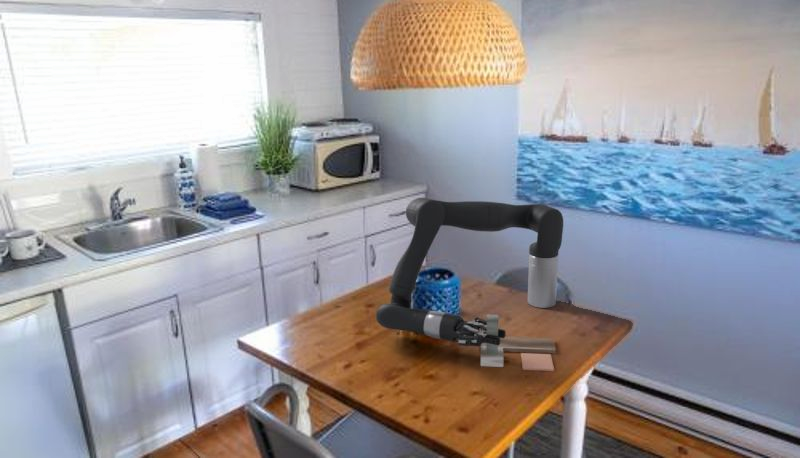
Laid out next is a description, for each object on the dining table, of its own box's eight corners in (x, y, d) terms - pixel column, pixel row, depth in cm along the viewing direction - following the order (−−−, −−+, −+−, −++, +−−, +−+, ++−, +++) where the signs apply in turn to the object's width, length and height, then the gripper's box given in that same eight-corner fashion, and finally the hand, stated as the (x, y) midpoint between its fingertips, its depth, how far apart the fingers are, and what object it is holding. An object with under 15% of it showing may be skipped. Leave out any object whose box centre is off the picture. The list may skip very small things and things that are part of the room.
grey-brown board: (479, 338, 167) (479, 335, 166) (552, 341, 164) (552, 338, 163) (479, 350, 160) (479, 347, 160) (555, 353, 157) (555, 350, 157)
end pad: (520, 354, 157) (520, 353, 157) (550, 355, 156) (550, 354, 156) (522, 369, 149) (522, 368, 149) (553, 371, 148) (554, 369, 148)
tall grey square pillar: (480, 354, 158) (481, 311, 154) (502, 355, 157) (503, 312, 153) (480, 365, 152) (481, 321, 148) (503, 367, 151) (504, 322, 147)
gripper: (432, 324, 152) (494, 336, 144) (453, 304, 164) (511, 314, 156) (433, 349, 154) (493, 362, 146) (453, 327, 166) (510, 339, 158)
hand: (502, 337), depth 151 cm, fingers closed on tall grey square pillar, 3 cm apart
